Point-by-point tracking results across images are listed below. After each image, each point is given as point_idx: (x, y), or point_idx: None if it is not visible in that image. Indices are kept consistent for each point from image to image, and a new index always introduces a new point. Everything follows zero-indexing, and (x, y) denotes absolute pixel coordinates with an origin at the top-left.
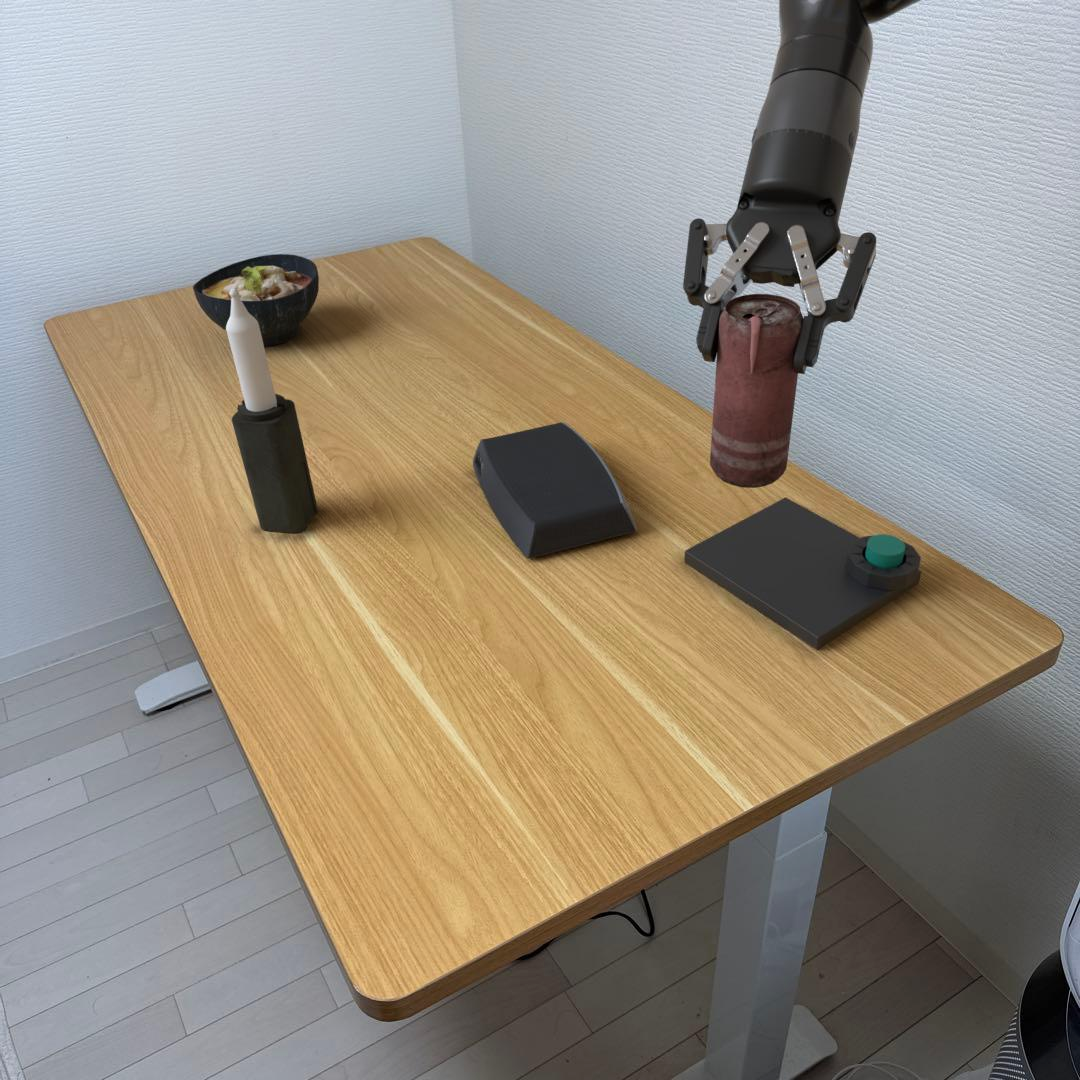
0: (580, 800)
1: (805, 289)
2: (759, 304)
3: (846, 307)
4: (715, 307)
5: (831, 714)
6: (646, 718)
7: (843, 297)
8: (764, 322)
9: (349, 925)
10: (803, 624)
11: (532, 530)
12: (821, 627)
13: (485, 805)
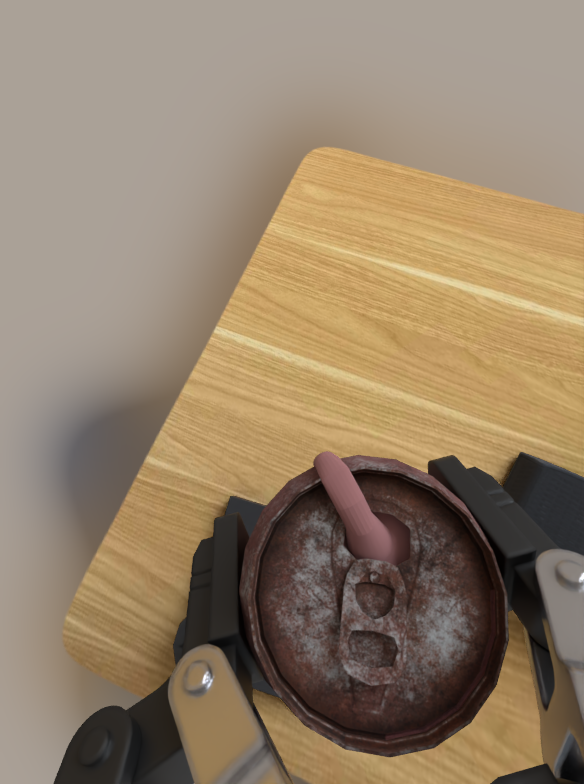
0: (304, 276)
1: (256, 746)
2: (417, 659)
3: (92, 719)
4: (521, 547)
5: (197, 434)
6: (309, 353)
7: (99, 766)
8: (328, 521)
9: (353, 158)
10: (248, 505)
11: (540, 460)
12: (233, 510)
13: (349, 242)
